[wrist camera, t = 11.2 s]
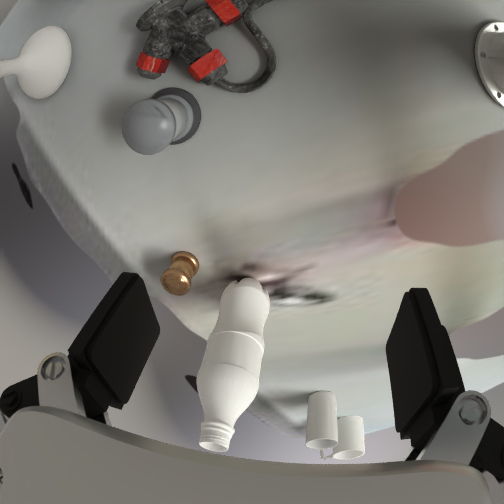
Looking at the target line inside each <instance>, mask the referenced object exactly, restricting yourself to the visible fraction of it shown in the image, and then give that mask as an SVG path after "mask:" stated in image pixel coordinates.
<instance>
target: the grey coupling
mask: <svg viewBox="0 0 504 504" xmlns="http://www.w3.org/2000/svg"><path fill="white" fill-rule="evenodd" d="M194 118H195V117H194V110H193V107H192V105H191V104H190V103H189V101H188V100H187V99H185V98H184V97H182V96H180V95H176V94H169V95H165V96H161V97H159V98H157V99H146V100H142V101H139V102H136V103H135V104H133V105H132V106H131V107H130V108H129V109H128V110H127V111H126V113H125V115H124V118H123V121H122V133H123V137H124V139H125V141H126V143H127V144H128V146H129V147H130V148H131V149H133V150H134V151H135V152H137V153H140V154H143V155H152V154H156V153H158V152H160V151H162V150H163V149H165V148H166V147H167V146H168V145H169V144H170V143H171V142H172V141H176V140H179V139H181V138H182V137H184V136H185V135H187V134H188V133H189V131H190V130H191V128H192V127H193V124H194Z"/></svg>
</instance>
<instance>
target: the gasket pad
mask: <svg viewBox="0 0 504 504" xmlns="http://www.w3.org/2000/svg"><path fill="white" fill-rule="evenodd" d="M169 94H176V95H180V96H182V97H184V98H185V99H187V100H188V101H189V103H190V104H191V105H192V107H193V110H194V117H195V118H194V124H193V127H192V128H191V130H190V131H189V133H188V134H187V135H185V136H184V137H182V138H181V139H179V140H176V141H172V142H171V143H170V144H171V145H173V144H180V143H183V142H185V141H186V140H188V139H189V138H191V137H192V136H193V135H194V134H195V132H196V131H197V129H198V127H199V124H200V120H201V111H200V107H199V104H198V102H197V101H196V99H195V98H194V97H193V96H192V95H191V94H190V93H189V92H187V91H185V90H183V89H180V88H168V89H164V90H161V91H159V92H158V93H156V94H155V95H154V96H153V97H152V98H151V99H157V98H159V97H161V96H165V95H169Z"/></svg>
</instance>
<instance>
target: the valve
mask: <svg viewBox="0 0 504 504" xmlns="http://www.w3.org/2000/svg"><path fill="white" fill-rule="evenodd" d="M205 1H206V2H207V4H206V5H201V6H200V7H198V8H197V9H196V10H194V11H193V12H191V13H190V14H188V15H186V14H185V13H184V11H183V7H184V5H185V3H186V2H187V0H161V1H159V2H158V3H156V4H155V5H153V6H152V7H151V8H150V9H148V10H147V11H146V12H145V13H144V14H143V15H142V16H141V17H140V19H139V20H138V22H137V24H136V26H137V28H138V29H139V30H140V31H147V30H149V29H152V31H151V33H150V35H149V38H148V40H147V42H146V44H145V47H144V49H143V51H145V53H143V52H141V53H140V56H139V58H138V61H137V63H136V66H138V68H137V71H138V73H139V75H140V76H142V77H145V78H149V79H156V78H158V77H160V76H161V74H162V73H165V71H166V69H167V66H168V64H169V62H170V60H168V59H167V58H168V57H170V56H171V54H172V51H173V50H174V51H175V52H176V54H177V55H178V56H181V57H182V58H183V59H184V61H185V62H186V63H187V64H188V65H189V64H191V66H190V67H189V68H188V69H187V70H188V71H189V73H190V74H191V75H192V76H193V77H194V79H195V80H196V81H197V82H198V81H202V82H203V83H205V84H206V85H208V86H210V85H211V84H213V83H214V82H215V83H216V84H217V85H219V86H220V87H222V88H223V89H225V90H228V91H231V92H236V93H247V92H251V91H254V90H256V89H259V88H261V87H262V86H263V85H265V84H266V83H267V82H268V81H269V79H270V78H271V77H272V75H273V73H274V70H275V66H276V56H275V52H274V50H273V48H272V46H271V44H270V43H269V41H268V40H267V39H266V37H265V36H264V35H263V33H262V32H261V31H260V29H259V28H258V27H257V26H256V24H255V23H254V22H253V20H252V13H253V11H254V10H255V9H257V8H259V7H261V6H262V5H264V4H266V3H268V2H270V1H272V0H255V1H253V2H251V3H250V4H247V2H246V0H205ZM242 14H243V21H244V23H245V25H246V27H247V28H248V29H249V30H250V32H251V33H252V34H253V36H254V37H255V38H256V40H257V41H258V42H259V44H260V45H261V46H262V48H263V49H264V51H265V53H266V56H267V66H266V69H265V71H264V73H263V75H262V76H261V77H260V78H259V79H257V80H256V81H254V82H252V83H249V84H245V85H238V84H233V83H230V82H228V81H226V80H225V79H224V78H223V76H224V75H226V74H227V69H226V67H225V63H226V62H228V61H227V60H226V59H225V58H224V56H223V55H222V54H221V52H220V51H219V50H218V49H215V50H213V51H211V50H212V49H211V47H210V46H209V45H208V44H207V42H206V41H205V40H204V38H205V35H207V34H208V33H210V32H211V31H213V30H215V29H216V28H218V27H219V26H221V25H220V24H221V23H223V22H224V23H225V24H226V26H228V25H230V24H232V23H233V22H235V21H237V20H238V19H240V18H242V16H241V15H242Z"/></svg>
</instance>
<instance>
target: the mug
mask: <svg viewBox="0 0 504 504" xmlns="http://www.w3.org/2000/svg"><path fill="white" fill-rule="evenodd" d="M337 444H338V427H337V407H336V396H335V394H334V393H332V392H329V391H319V392H315V393H313V394H311V395H310V396H309V398H308V413H307V429H306V444H305V445H306V446H307V447H308V448H312V449H328V448H332V447H334V446H336V445H337Z"/></svg>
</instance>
